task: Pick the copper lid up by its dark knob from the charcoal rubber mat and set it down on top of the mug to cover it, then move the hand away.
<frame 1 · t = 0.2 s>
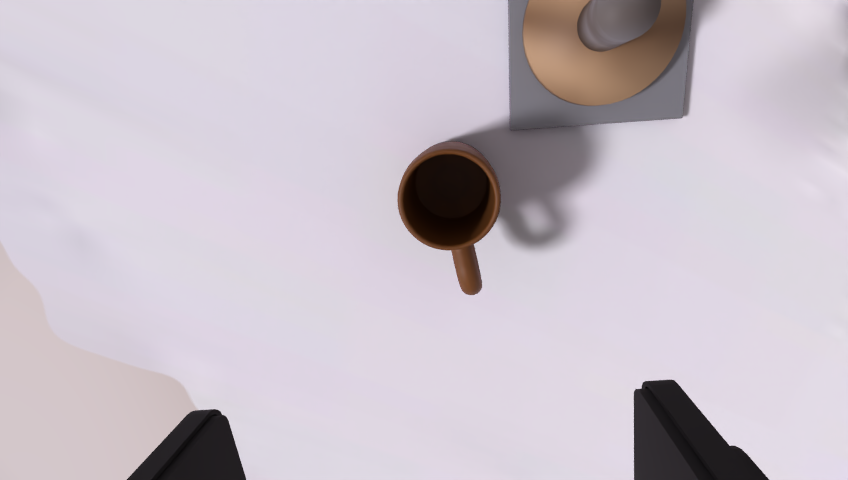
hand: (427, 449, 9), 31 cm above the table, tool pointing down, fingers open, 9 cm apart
copper lid: (598, 27, 33), point 1 cm above the table, touching rubber mat
rubber mat: (595, 29, 34), on the table
mug: (456, 204, 39), on the table
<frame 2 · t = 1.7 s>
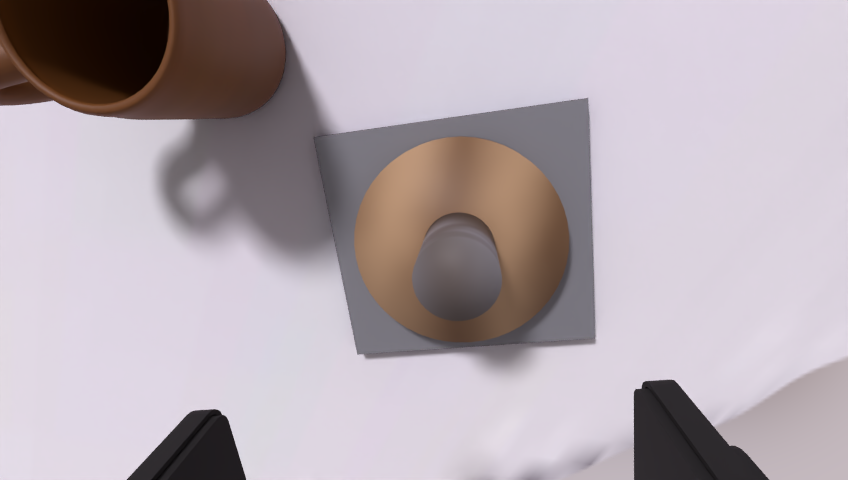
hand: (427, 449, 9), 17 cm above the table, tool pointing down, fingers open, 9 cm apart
copper lid: (459, 241, 24), point 1 cm above the table, touching rubber mat
rubber mat: (459, 237, 25), on the table
mug: (195, 63, 24), on the table
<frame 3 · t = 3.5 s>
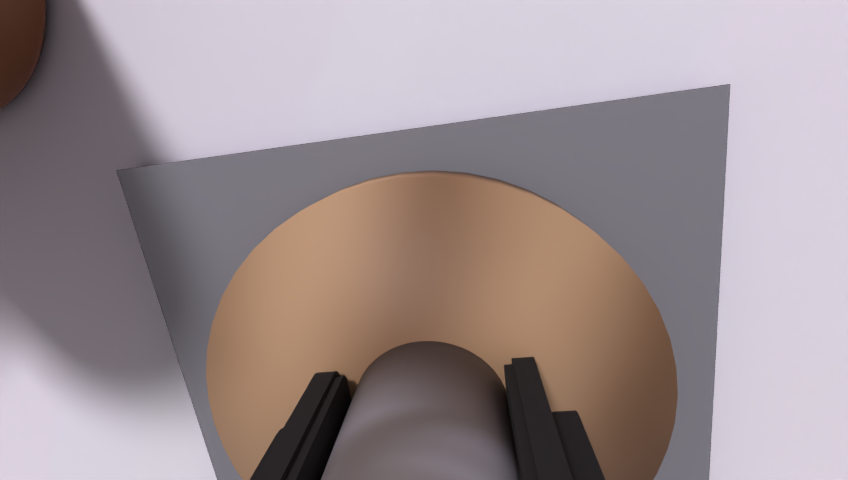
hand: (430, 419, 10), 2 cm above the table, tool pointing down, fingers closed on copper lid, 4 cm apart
copper lid: (433, 382, 12), point 1 cm above the table, touching gripper, rubber mat
rubber mat: (435, 366, 13), on the table
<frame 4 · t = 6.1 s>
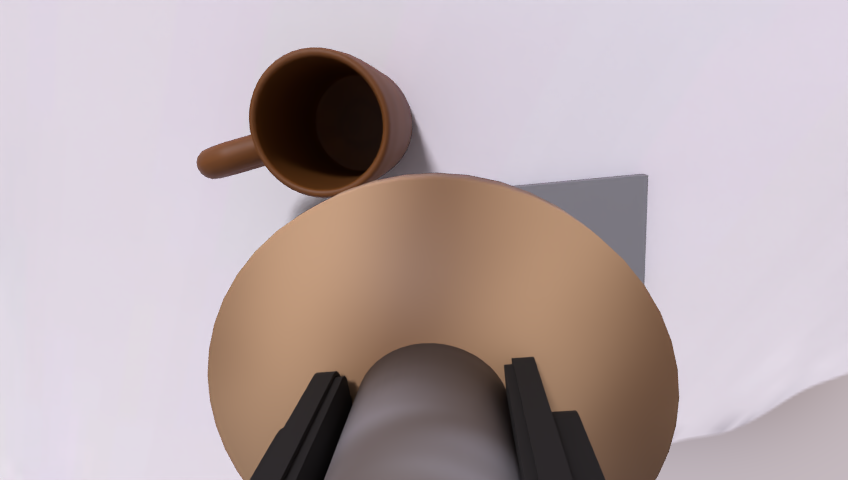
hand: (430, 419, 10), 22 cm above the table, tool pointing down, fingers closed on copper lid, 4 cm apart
copper lid: (435, 384, 12), point 20 cm above the table, touching gripper
rubber mat: (536, 275, 32), on the table
mug: (334, 133, 30), on the table
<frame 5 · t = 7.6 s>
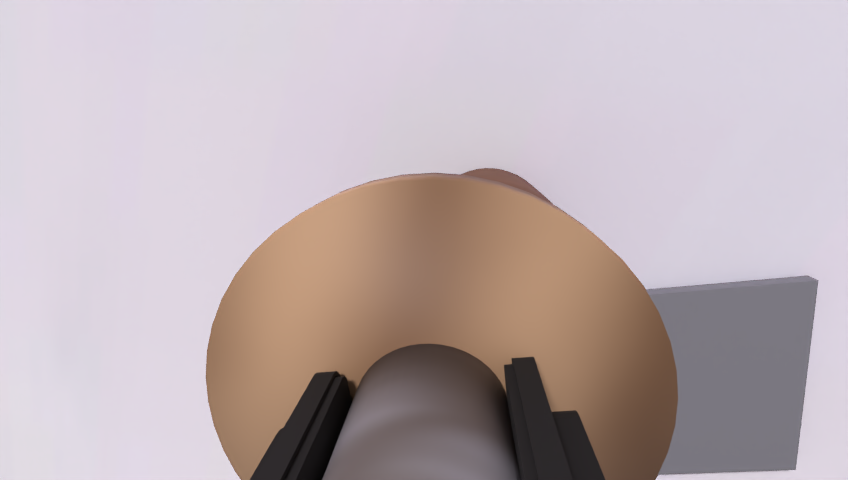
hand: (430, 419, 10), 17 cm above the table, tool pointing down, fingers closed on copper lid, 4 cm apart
copper lid: (433, 384, 12), point 16 cm above the table, touching gripper
rubber mat: (676, 381, 28), on the table
mug: (453, 234, 27), on the table
when the fingers open (12 cm above the table, at t = 8.8 s): copper lid drops 1 cm, resting on mug.
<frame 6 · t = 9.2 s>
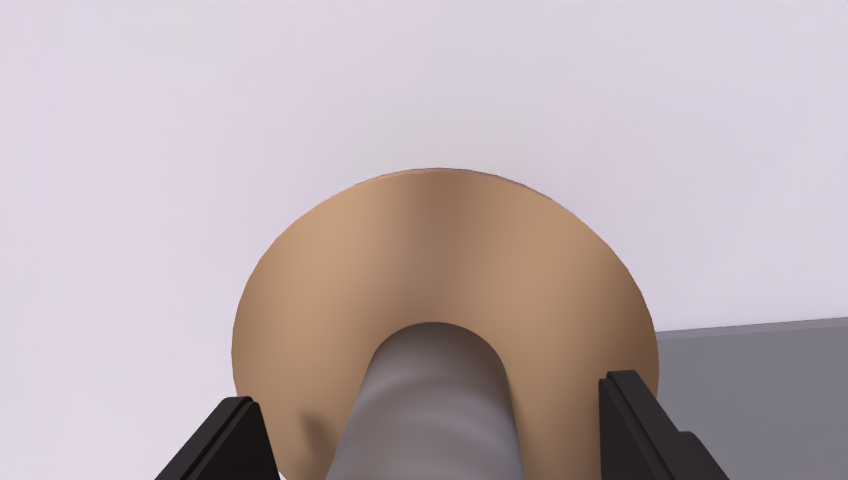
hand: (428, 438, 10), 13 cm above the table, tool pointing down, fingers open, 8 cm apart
copper lid: (438, 362, 13), point 9 cm above the table, touching mug
rubber mat: (718, 438, 23), on the table
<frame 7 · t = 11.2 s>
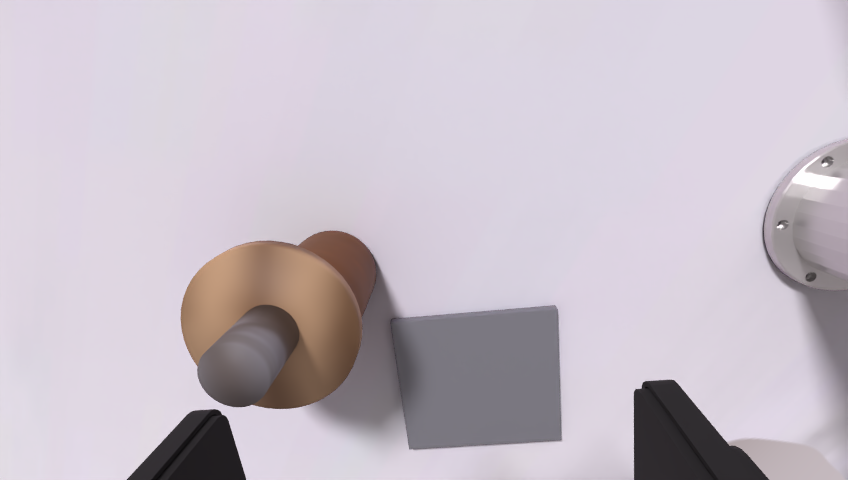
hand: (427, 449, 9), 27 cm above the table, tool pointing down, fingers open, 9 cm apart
copper lid: (276, 323, 29), point 9 cm above the table, touching mug
rubber mat: (478, 378, 40), on the table
mug: (314, 274, 38), on the table, touching copper lid
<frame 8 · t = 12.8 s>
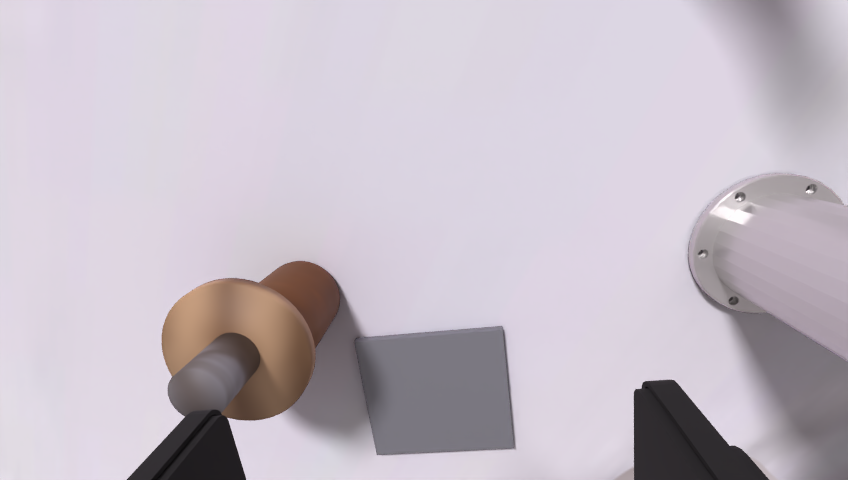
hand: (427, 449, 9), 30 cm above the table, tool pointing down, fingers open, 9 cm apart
copper lid: (243, 347, 34), point 9 cm above the table, touching mug
rubber mat: (436, 391, 44), on the table
mug: (287, 298, 43), on the table, touching copper lid
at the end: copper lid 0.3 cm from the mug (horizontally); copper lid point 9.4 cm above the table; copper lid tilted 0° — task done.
